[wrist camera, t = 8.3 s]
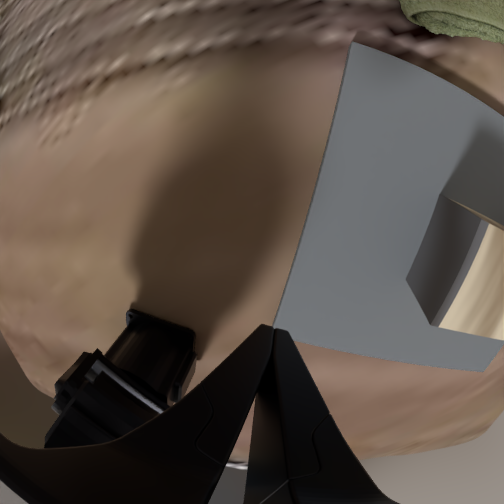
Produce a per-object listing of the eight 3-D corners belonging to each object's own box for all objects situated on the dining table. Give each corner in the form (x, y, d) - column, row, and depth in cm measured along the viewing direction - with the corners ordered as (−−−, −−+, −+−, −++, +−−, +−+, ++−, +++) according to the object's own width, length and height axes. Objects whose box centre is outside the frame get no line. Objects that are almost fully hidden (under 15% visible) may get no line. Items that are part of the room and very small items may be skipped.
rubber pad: (272, 324, 22) (270, 334, 20) (349, 47, 13) (352, 41, 12) (479, 364, 20) (483, 371, 19) (566, 177, 12) (574, 180, 10)
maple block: (430, 325, 12) (524, 344, 12) (481, 219, 10) (565, 269, 9) (405, 279, 17) (496, 306, 16) (439, 194, 14) (528, 240, 14)
